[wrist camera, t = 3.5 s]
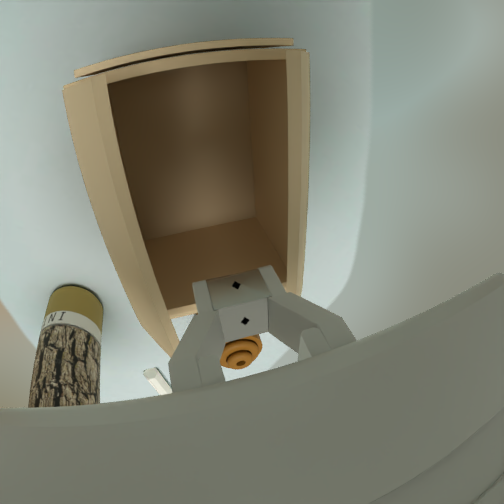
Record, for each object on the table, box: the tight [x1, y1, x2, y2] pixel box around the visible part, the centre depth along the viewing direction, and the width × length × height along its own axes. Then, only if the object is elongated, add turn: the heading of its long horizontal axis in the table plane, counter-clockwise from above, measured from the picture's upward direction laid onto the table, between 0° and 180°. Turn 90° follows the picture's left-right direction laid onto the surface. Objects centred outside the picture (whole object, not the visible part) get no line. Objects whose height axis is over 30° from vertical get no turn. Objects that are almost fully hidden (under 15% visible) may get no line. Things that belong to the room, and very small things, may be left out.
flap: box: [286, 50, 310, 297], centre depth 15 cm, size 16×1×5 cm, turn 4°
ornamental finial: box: [196, 313, 262, 369], centre depth 33 cm, size 8×8×8 cm
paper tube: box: [28, 286, 103, 408], centre depth 20 cm, size 7×7×25 cm
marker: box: [143, 368, 172, 395], centre depth 44 cm, size 3×2×16 cm
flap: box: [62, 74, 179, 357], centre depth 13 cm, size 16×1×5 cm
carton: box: [63, 38, 306, 319], centre depth 20 cm, size 17×12×10 cm
